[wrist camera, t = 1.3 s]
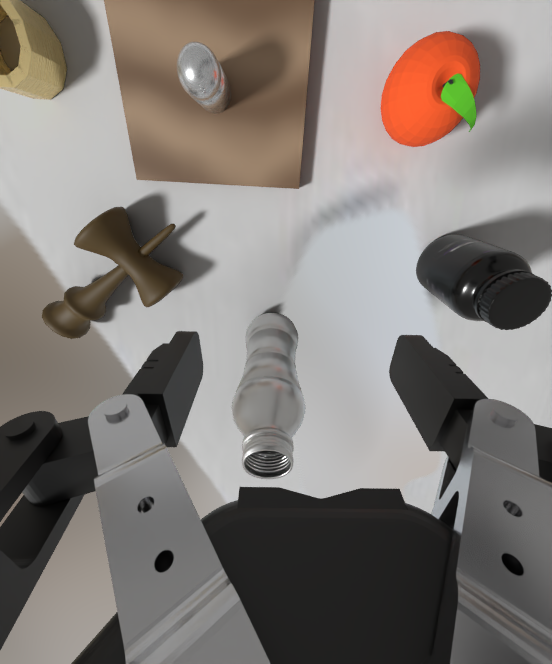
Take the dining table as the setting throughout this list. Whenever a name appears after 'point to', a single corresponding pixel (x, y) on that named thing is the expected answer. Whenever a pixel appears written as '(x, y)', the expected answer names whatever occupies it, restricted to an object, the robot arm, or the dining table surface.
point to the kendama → (111, 274)
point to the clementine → (431, 89)
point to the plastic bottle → (269, 397)
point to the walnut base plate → (245, 81)
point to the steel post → (203, 77)
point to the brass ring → (33, 55)
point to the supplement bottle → (483, 282)
